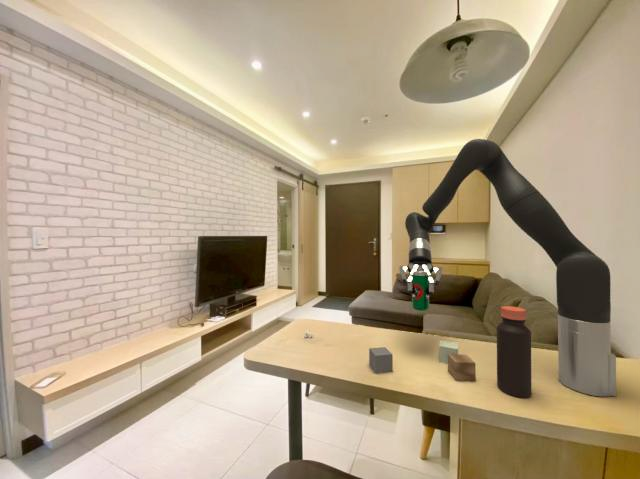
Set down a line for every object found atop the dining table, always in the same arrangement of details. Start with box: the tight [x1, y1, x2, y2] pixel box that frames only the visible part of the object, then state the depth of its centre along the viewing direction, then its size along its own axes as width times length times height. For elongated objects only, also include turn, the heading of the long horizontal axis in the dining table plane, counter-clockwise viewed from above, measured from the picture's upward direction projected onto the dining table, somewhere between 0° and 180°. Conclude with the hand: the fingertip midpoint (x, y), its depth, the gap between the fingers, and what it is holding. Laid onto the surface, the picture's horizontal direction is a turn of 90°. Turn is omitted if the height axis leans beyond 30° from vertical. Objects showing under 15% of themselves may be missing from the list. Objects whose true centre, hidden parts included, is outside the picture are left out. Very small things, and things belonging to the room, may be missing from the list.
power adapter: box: [304, 329, 314, 339], centre depth 98 cm, size 3×3×3 cm
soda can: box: [411, 271, 430, 312], centre depth 83 cm, size 5×5×12 cm
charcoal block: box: [368, 346, 394, 374], centre depth 74 cm, size 5×5×5 cm
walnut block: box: [447, 353, 476, 383], centre depth 70 cm, size 5×5×5 cm
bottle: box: [496, 305, 533, 399], centre depth 63 cm, size 7×7×20 cm
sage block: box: [438, 339, 459, 365], centre depth 79 cm, size 5×5×5 cm
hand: (420, 293), depth 81 cm, fingers closed on soda can, 5 cm apart
